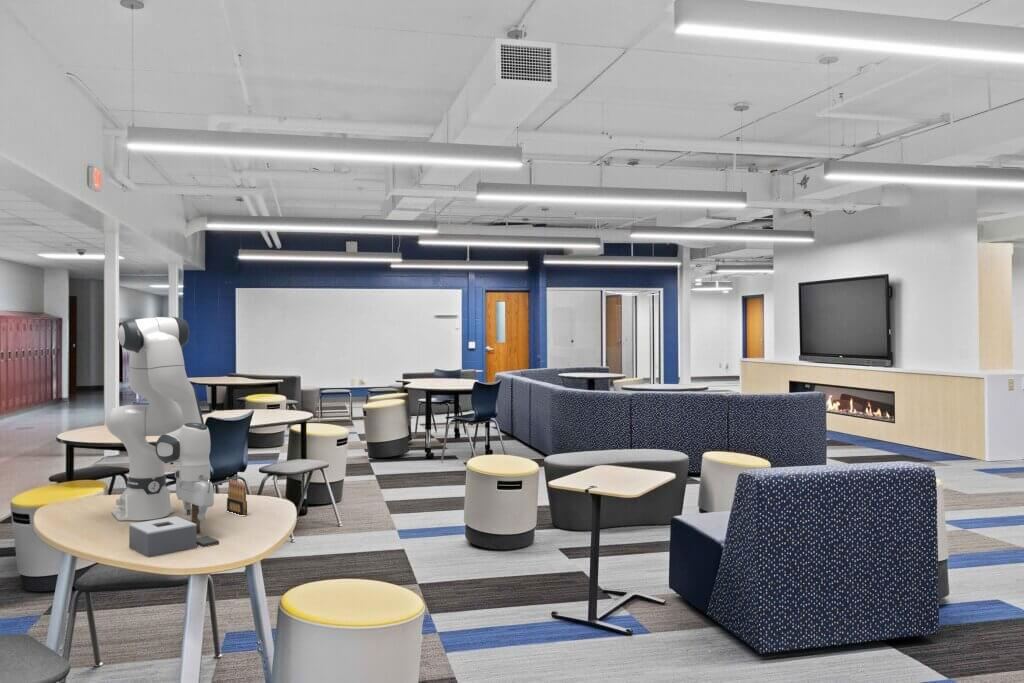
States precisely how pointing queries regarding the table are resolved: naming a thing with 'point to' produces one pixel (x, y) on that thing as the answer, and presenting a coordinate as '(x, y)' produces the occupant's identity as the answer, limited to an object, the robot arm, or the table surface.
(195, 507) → the brown rounded rod
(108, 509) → the table surface
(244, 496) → the ammunition clip
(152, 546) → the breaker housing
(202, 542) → the rubber pad
